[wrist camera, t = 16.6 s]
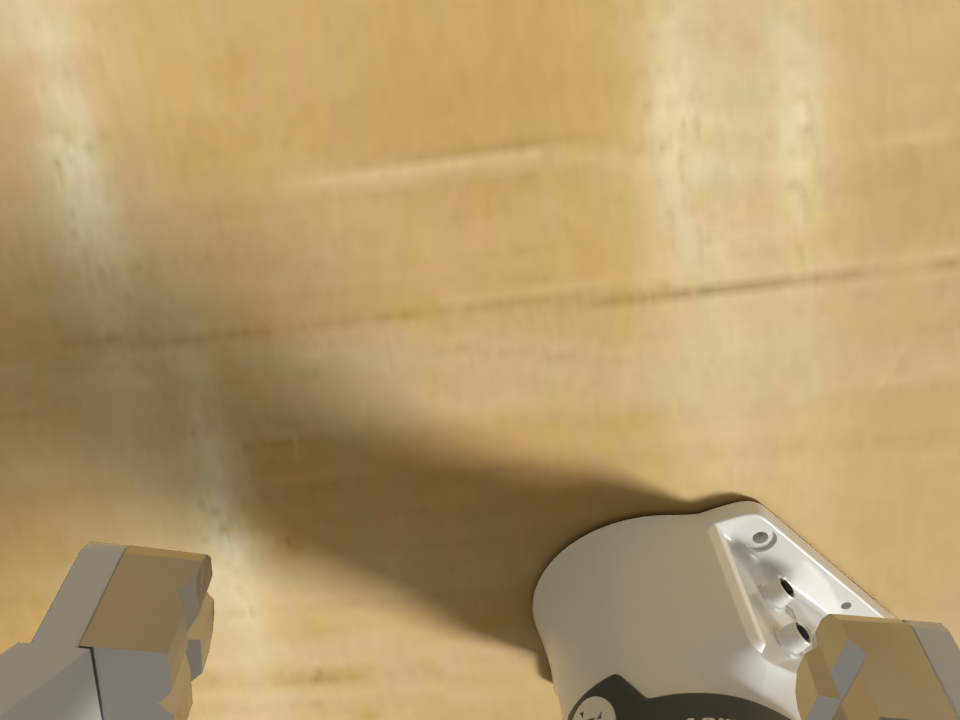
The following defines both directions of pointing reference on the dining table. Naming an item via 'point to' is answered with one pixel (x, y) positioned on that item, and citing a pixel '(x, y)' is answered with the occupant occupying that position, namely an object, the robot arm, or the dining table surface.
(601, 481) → the dining table surface
